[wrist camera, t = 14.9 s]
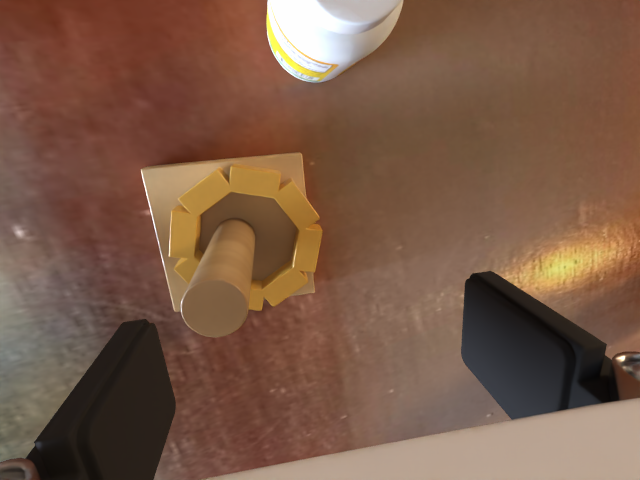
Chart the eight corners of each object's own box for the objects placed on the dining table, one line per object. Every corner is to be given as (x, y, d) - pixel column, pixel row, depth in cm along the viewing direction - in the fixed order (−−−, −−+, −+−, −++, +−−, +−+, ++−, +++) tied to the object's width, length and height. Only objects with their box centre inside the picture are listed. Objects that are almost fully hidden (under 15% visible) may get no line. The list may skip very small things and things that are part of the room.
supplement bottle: (279, 91, 21) (290, 63, 11) (255, -15, 19) (245, -147, 10) (368, 72, 21) (445, 31, 12) (352, -33, 19) (429, -178, 10)
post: (148, 166, 21) (40, 201, 11) (299, 152, 22) (327, 172, 12) (179, 301, 24) (116, 427, 14) (312, 283, 25) (343, 389, 15)
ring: (180, 154, 19) (174, 156, 18) (327, 178, 21) (331, 181, 20) (171, 292, 22) (165, 302, 20) (305, 304, 23) (307, 314, 22)
